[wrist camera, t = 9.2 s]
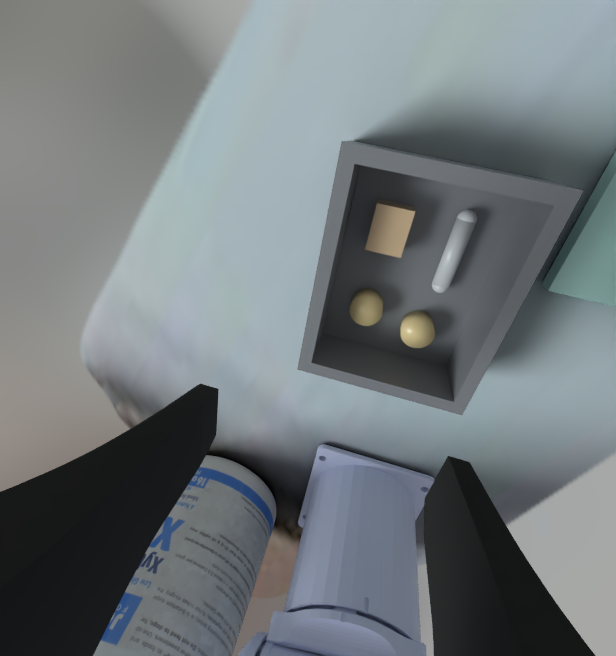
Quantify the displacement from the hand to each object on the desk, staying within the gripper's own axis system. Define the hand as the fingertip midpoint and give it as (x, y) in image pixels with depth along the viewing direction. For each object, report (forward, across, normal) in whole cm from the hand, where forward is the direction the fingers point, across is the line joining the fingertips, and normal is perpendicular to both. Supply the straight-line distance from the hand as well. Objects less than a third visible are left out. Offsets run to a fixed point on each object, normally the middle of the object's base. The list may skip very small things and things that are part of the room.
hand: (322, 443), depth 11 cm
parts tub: (+9, -2, -3) cm, 10 cm away
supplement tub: (+10, +6, +19) cm, 22 cm away
